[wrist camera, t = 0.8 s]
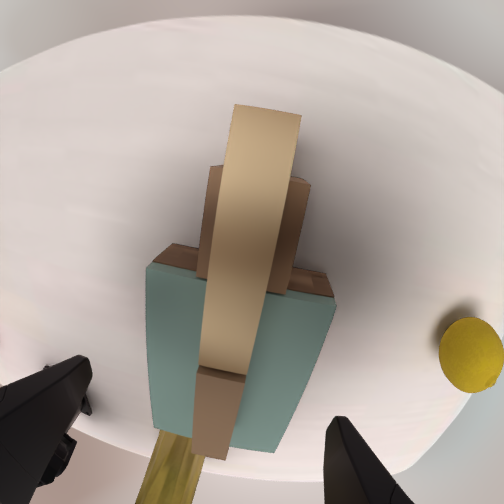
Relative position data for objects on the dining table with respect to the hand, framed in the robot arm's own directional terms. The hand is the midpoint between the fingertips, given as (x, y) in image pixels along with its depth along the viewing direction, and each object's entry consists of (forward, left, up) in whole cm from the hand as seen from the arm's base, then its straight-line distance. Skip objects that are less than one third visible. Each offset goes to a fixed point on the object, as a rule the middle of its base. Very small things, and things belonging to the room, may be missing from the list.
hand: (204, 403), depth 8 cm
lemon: (-2, -19, -12) cm, 23 cm away
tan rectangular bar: (+4, 0, -7) cm, 8 cm away
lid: (-7, 0, -9) cm, 11 cm away
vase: (-23, +3, -12) cm, 26 cm away
